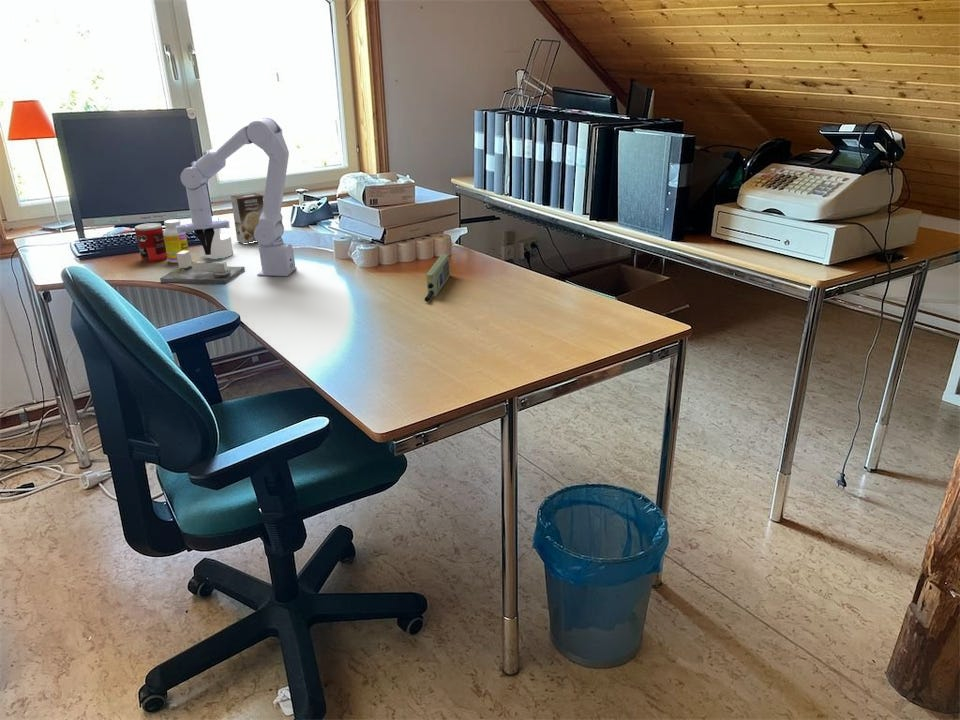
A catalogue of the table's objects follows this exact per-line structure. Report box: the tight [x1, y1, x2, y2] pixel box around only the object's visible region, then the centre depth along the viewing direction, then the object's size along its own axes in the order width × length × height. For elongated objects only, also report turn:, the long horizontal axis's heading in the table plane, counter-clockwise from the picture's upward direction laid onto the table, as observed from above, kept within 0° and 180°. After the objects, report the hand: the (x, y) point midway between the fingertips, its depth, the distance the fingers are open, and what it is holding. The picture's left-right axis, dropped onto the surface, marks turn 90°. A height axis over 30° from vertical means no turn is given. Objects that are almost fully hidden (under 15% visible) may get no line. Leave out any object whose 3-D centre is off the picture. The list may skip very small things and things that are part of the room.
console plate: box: [159, 265, 246, 285], centre depth 208 cm, size 20×13×1 cm, turn 83°
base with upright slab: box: [202, 215, 234, 260], centre depth 226 cm, size 9×9×12 cm
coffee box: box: [230, 192, 264, 244], centre depth 241 cm, size 9×6×16 cm
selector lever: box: [191, 260, 231, 276], centre depth 204 cm, size 11×5×4 cm, turn 83°
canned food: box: [134, 222, 168, 263], centre depth 223 cm, size 8×8×11 cm
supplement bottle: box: [163, 219, 190, 264], centre depth 221 cm, size 7×7×13 cm
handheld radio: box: [424, 253, 451, 303], centre depth 194 cm, size 7×3×25 cm
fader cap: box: [177, 250, 193, 268], centre depth 211 cm, size 2×4×4 cm, turn 173°
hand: (208, 254), depth 209 cm, fingers closed
